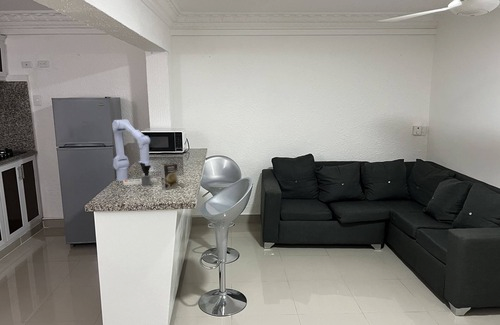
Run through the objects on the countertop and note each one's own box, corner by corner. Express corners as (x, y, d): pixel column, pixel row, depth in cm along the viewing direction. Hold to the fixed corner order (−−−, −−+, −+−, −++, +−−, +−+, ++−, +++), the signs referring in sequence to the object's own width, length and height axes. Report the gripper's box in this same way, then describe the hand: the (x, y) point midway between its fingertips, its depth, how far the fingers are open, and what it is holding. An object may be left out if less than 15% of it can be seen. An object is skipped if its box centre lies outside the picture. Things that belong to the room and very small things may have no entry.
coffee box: (165, 190, 244) (164, 165, 241) (161, 188, 249) (160, 164, 246) (178, 187, 249) (177, 163, 246) (174, 186, 254) (173, 162, 251)
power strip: (123, 183, 260) (122, 179, 260) (155, 181, 268) (155, 176, 268) (124, 186, 252) (123, 182, 251) (157, 183, 260) (157, 179, 259)
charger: (143, 185, 255) (142, 175, 254) (150, 185, 256) (150, 175, 254) (142, 187, 250) (141, 177, 249) (149, 187, 251) (149, 177, 250)
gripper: (136, 153, 254) (137, 172, 256) (140, 156, 241) (141, 177, 243) (147, 152, 257) (148, 172, 259) (151, 155, 244) (152, 176, 246)
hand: (145, 174), depth 252 cm, fingers open, 7 cm apart
